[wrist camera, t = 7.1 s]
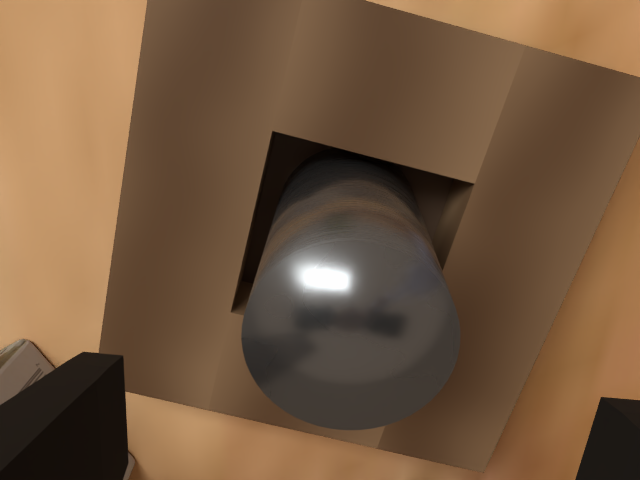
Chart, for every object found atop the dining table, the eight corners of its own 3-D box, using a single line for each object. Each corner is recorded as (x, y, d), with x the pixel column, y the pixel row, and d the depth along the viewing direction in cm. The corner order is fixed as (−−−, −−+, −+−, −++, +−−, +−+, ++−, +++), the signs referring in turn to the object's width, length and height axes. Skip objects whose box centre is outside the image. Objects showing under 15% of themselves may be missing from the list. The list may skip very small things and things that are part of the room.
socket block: (616, 72, 16) (663, 84, 14) (467, 419, 21) (483, 473, 18) (183, -50, 15) (155, -59, 13) (122, 339, 20) (94, 384, 18)
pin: (429, 158, 17) (485, 260, 10) (400, 284, 18) (432, 444, 12) (287, 135, 17) (253, 224, 10) (270, 264, 18) (231, 414, 12)
